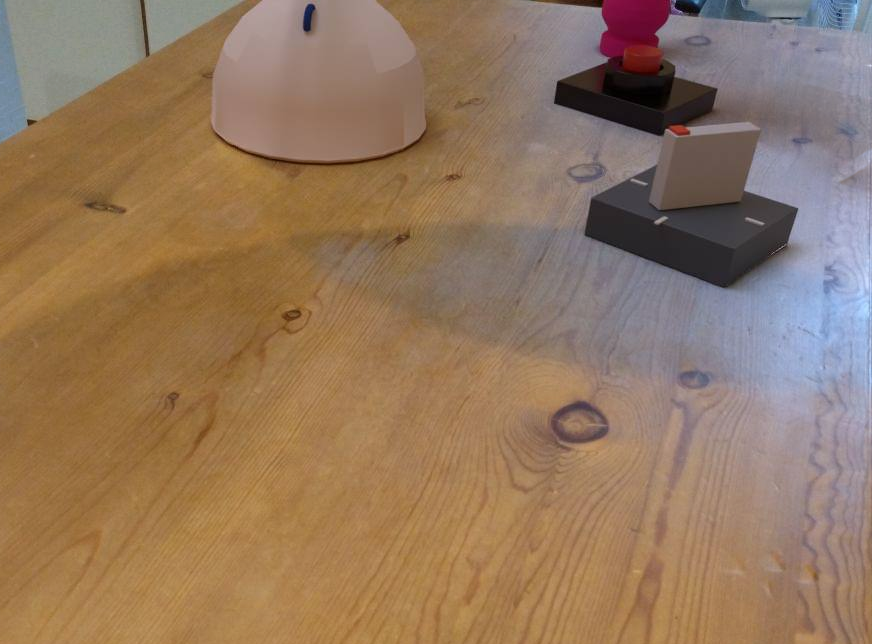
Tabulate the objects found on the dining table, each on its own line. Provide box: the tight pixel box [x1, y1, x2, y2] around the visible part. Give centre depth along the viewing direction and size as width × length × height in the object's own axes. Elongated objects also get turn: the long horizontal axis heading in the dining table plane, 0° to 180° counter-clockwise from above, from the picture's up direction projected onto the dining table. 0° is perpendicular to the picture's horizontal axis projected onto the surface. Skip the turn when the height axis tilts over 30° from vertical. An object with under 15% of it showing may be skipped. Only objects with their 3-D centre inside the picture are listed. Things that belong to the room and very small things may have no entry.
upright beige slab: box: [649, 121, 762, 210], centre depth 78 cm, size 7×2×6 cm, turn 106°
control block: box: [553, 55, 719, 137], centre depth 103 cm, size 12×10×4 cm
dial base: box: [584, 164, 799, 288], centre depth 81 cm, size 12×11×3 cm
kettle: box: [209, 0, 427, 164], centre depth 94 cm, size 20×21×18 cm
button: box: [622, 45, 664, 73], centre depth 102 cm, size 4×4×2 cm
